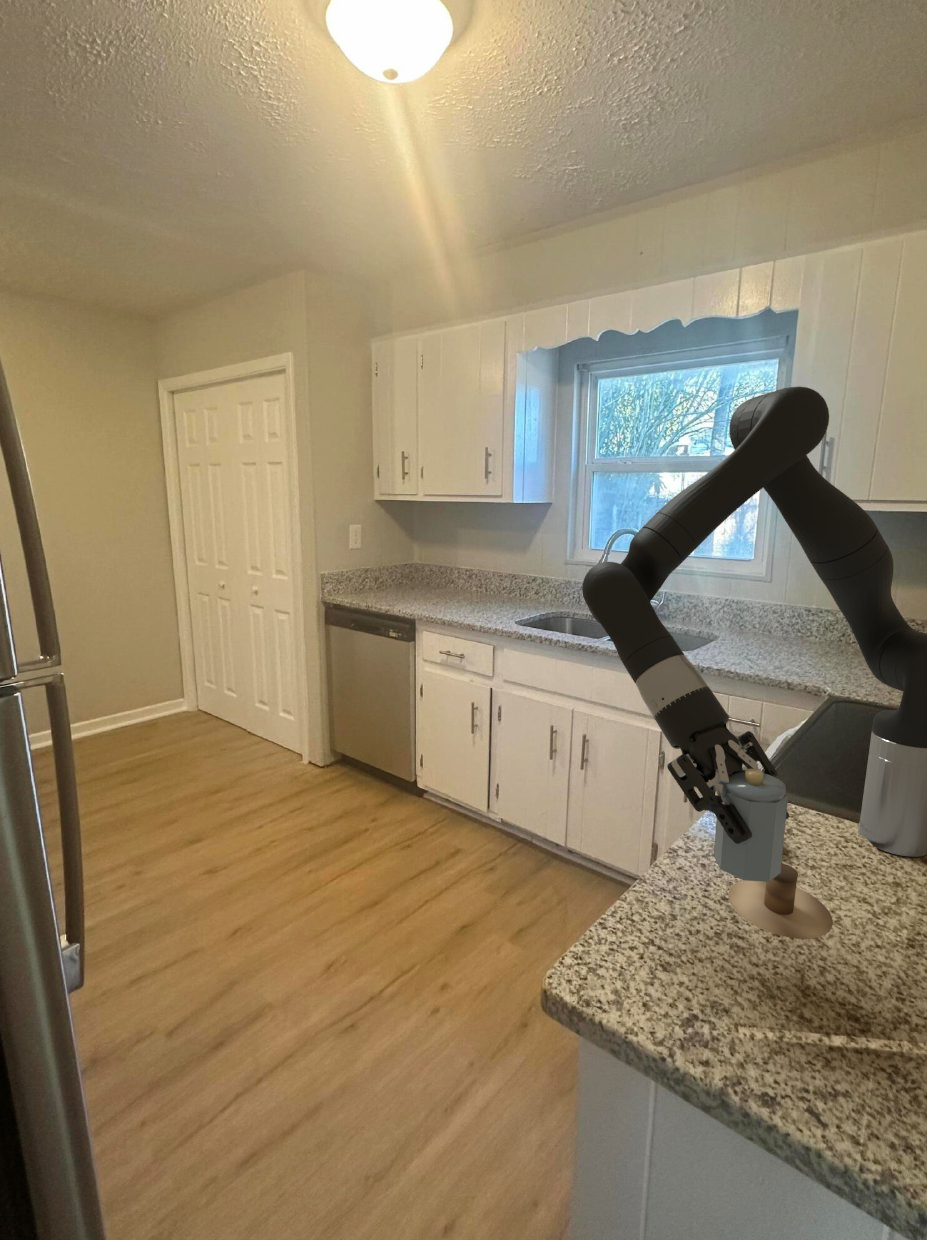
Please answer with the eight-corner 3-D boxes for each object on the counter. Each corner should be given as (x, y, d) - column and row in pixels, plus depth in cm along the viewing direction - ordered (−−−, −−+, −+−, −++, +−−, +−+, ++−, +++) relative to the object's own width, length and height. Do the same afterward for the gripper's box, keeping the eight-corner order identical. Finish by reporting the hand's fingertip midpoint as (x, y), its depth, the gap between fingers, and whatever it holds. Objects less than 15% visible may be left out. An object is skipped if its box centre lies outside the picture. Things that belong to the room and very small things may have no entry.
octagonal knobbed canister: (765, 850, 73) (773, 761, 71) (787, 883, 67) (797, 786, 65) (709, 847, 74) (715, 759, 72) (725, 879, 68) (733, 783, 66)
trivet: (806, 887, 85) (807, 881, 85) (850, 948, 74) (851, 942, 73) (716, 881, 87) (716, 875, 86) (745, 940, 75) (745, 934, 75)
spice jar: (787, 898, 81) (791, 863, 81) (798, 916, 78) (802, 879, 77) (759, 896, 82) (763, 861, 81) (769, 914, 78) (773, 877, 78)
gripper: (660, 696, 69) (750, 839, 62) (736, 675, 77) (824, 800, 70) (622, 727, 74) (701, 862, 67) (696, 705, 82) (774, 824, 75)
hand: (763, 830), depth 68 cm, fingers closed on octagonal knobbed canister, 6 cm apart
